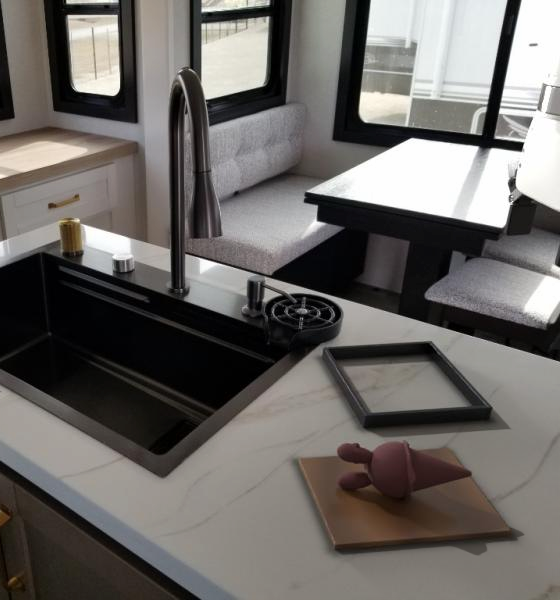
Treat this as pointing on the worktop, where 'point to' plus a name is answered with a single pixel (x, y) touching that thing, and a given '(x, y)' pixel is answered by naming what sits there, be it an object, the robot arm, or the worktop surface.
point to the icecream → (396, 469)
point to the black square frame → (408, 417)
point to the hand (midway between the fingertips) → (541, 249)
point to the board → (398, 508)
